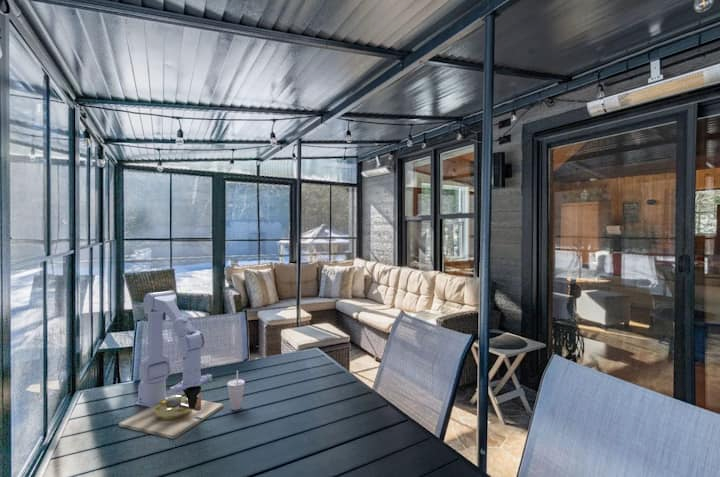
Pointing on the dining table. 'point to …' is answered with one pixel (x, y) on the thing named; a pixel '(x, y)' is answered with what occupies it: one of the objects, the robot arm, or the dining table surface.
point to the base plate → (170, 428)
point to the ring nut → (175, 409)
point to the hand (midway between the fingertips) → (191, 407)
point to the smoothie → (236, 392)
